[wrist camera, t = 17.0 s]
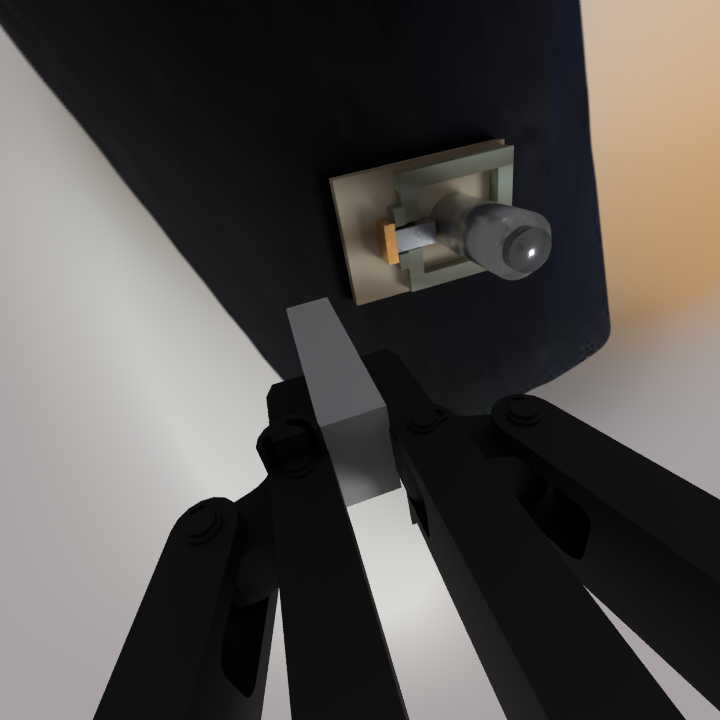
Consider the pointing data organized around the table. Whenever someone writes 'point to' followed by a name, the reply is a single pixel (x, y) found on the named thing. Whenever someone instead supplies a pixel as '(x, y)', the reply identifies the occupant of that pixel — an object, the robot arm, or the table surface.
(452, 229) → the metal bottle
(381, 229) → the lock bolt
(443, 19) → the table surface
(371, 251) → the dock mount
